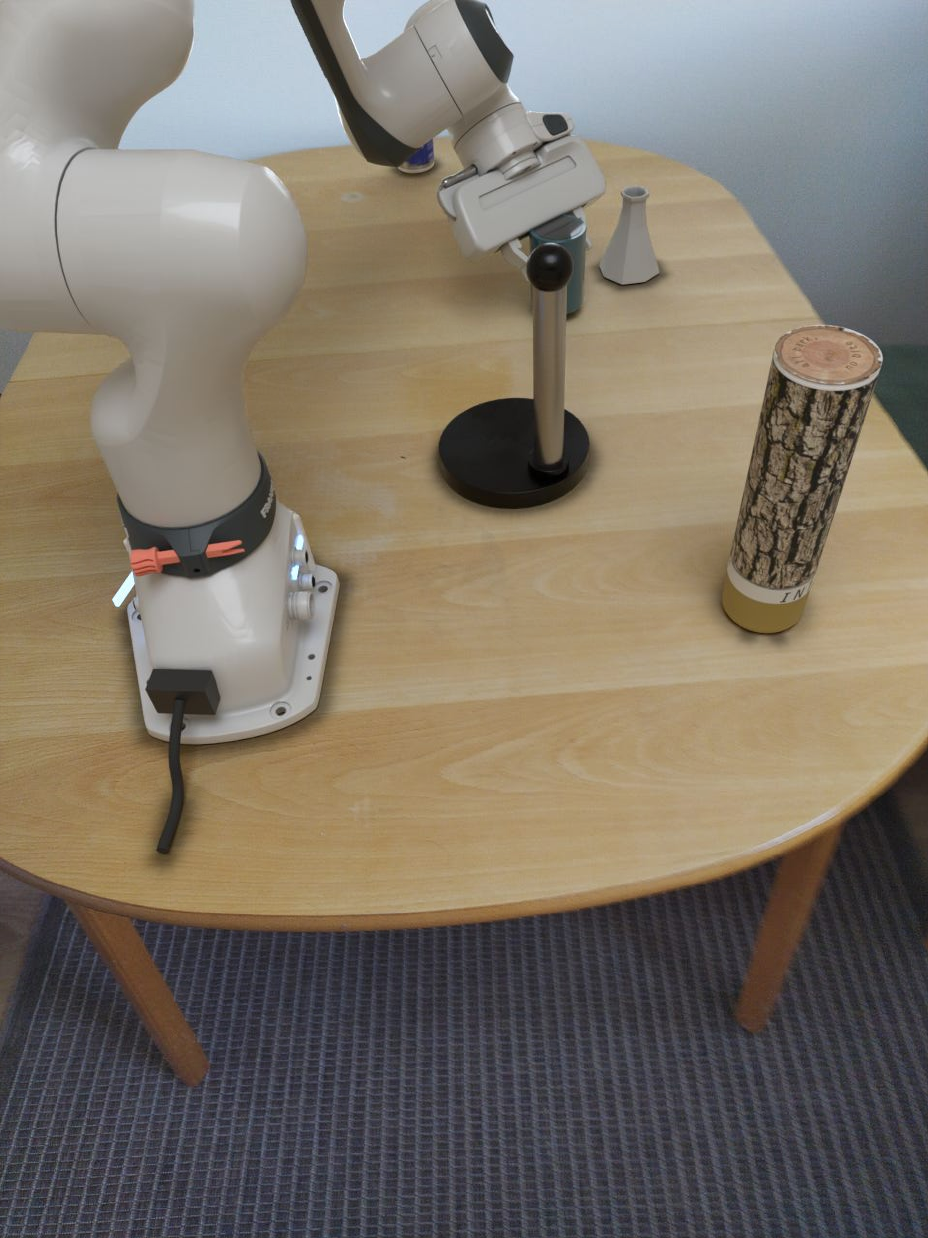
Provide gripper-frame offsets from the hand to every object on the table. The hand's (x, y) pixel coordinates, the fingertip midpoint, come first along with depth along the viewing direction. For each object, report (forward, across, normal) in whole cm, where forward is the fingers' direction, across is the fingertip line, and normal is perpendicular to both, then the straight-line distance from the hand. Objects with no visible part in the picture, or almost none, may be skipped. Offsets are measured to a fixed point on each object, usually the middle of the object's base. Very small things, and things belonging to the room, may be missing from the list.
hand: (561, 264), depth 108 cm
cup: (+3, 0, +4) cm, 5 cm away
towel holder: (+16, -22, -7) cm, 28 cm away
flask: (+4, +12, +5) cm, 14 cm away
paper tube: (+36, -21, -28) cm, 50 cm away
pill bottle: (-27, +13, +36) cm, 47 cm away
